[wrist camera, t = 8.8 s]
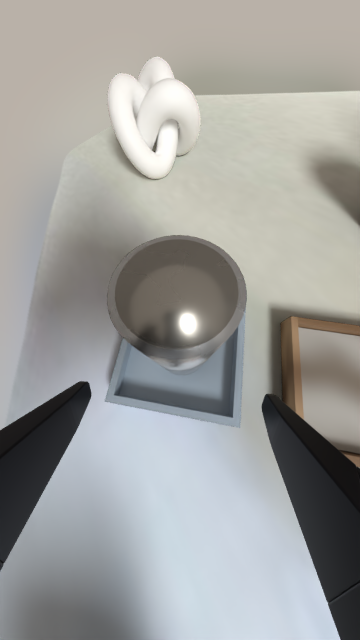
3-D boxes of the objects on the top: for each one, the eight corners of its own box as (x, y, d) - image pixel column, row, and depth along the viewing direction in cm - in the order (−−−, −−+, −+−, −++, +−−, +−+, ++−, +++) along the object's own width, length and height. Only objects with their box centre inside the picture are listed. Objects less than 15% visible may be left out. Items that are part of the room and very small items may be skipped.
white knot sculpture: (165, 200, 26) (155, 109, 17) (105, 171, 28) (71, 81, 20) (206, 158, 29) (215, 64, 20) (148, 136, 31) (135, 45, 23)
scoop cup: (213, 365, 17) (275, 327, 5) (166, 383, 16) (123, 383, 5) (195, 321, 18) (213, 219, 7) (152, 336, 18) (94, 254, 7)
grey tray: (233, 422, 16) (240, 427, 14) (113, 399, 17) (104, 401, 15) (240, 308, 19) (246, 300, 17) (142, 295, 20) (137, 286, 18)
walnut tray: (428, 474, 14) (465, 488, 12) (283, 445, 15) (297, 454, 13) (394, 339, 18) (419, 334, 16) (280, 323, 19) (291, 316, 17)
